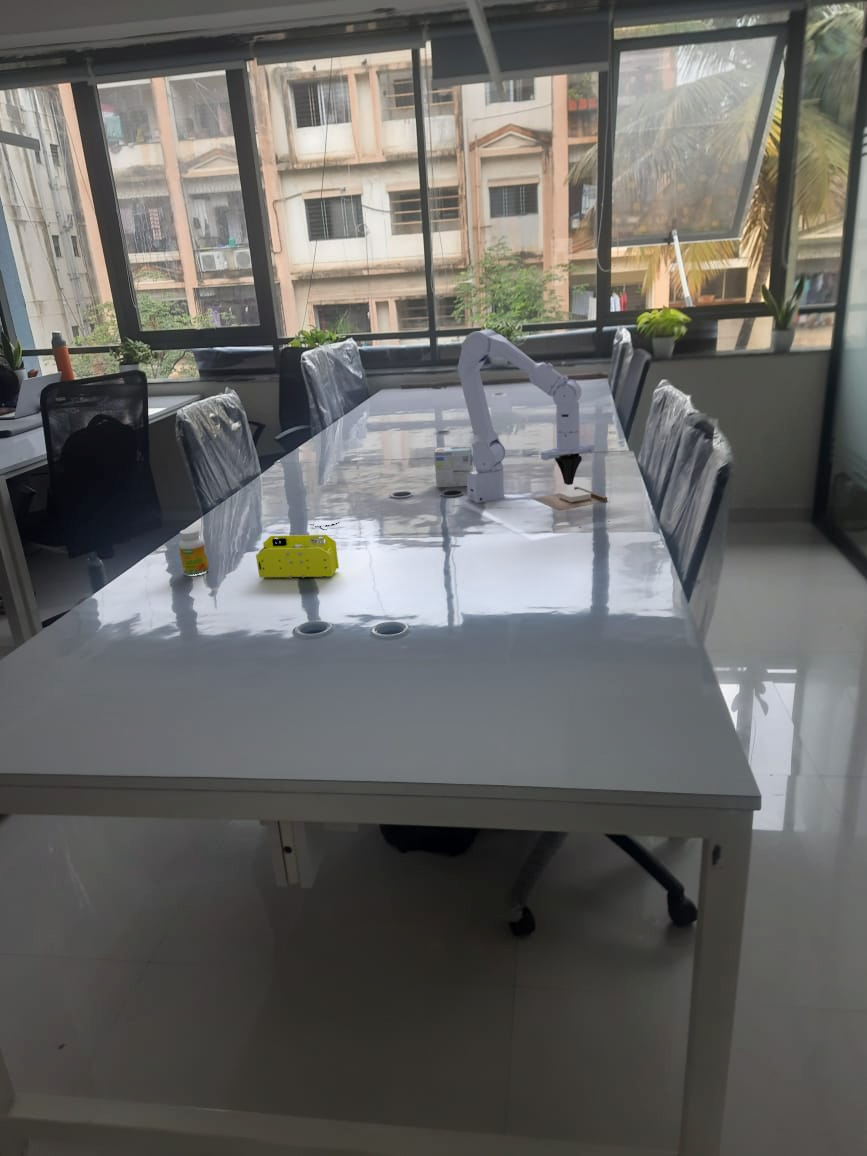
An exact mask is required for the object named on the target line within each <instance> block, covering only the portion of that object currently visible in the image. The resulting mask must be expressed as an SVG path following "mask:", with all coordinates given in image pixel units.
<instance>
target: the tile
mask: <svg viewBox="0 0 867 1156" xmlns="http://www.w3.org/2000/svg"><path fill="white" fill-rule="evenodd" d="M558 494H559V498H561V499H564V500H566V501H569V502H577V501H582V500H587V499H591V493H588V492H585V491H583V490H580V489H576V490H574V489H570V490H566V491H560V492H558Z"/></svg>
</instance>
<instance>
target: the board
mask: <svg viewBox="0 0 867 1156" xmlns="http://www.w3.org/2000/svg"><path fill="white" fill-rule="evenodd" d="M573 488H574V489H573V490H576V489H580V490H583V491H585V492H588V493H591V499H587V500H582V501H577V502H569V501H566V500H564V499H561V498H559V493H555V494H550V495H549V494H548V495H544V496H539V497H533V498H531V499H532V500H534V501H536V502H538V503H540V504H543V505H545V506H547V507H550V508H553V509H555V510H558V511H563V510H569V509H574V508H579V507H580V508H581V507H585V506H590V505H595V504H601V503H605V502H608V497H607V496H605V495H602V494H599V493H596V492H594V491H592V490H588V489H586V488H582V487H580V486H574V487H573Z"/></svg>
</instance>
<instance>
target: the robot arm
mask: <svg viewBox="0 0 867 1156" xmlns="http://www.w3.org/2000/svg"><path fill="white" fill-rule="evenodd" d="M488 358H502V359H504V360H506V361H508V363H511V364H512V365H514V366H516V367H517V368H518V369H519V370H521V371H523V372H524V373H526V374H527V375H528V376H529V377H528V378H529V381H530V383H532V385H534V386H535V387H536V388H538V389H540V390H541V391H542V392H543V393H545V394H546V395H548V396H549V397H552V400H553V403H554V404H555V405H556V410H555V411H556V412H555V418H556V420H555V423H556V424H555V425H556V427H555V428H556V429H555V430H556V431H555V433H556V447H554V448H552V449H548V450H543V451H541V452H540V453H541V454H540V456H541V457H540V459H541V460H543V461H549V460H552V459H554V461H555V462H556V464H557V466H558V468H559V470H560V472H561V476H562V478H563V484H564V485H567V486H569V485H574V480H575V476H576V473H577V470H578V467H579V465H580V464H581V463H582V460H583V457H582V456H581V455H583V454H589V453H591V454H593V453H595V452H596V449H595V448H596V446H595V444H592V443H589V444H588V443H587V444H580V402H579V400H580V399H581V396H582V387H581V386H580V385H579V384H578V383H577V381H576V380H574V379H569V376H568V375H563V374H561V373H560V372H558V371H557V370H556V369H554V368H553V367H554V365H553V364H551V363H550V362H548V363H546V362H545V361H543V362H536V361H535V360H533V359H532V358H531V357H529V356H528V355H527V354H525V352H523V351H522V350H521V349H519V348H518V347H517V346H516V345H514V344H513V343H512V342H511V341H509V339H507V338H505V336H503V335H502V334H499V333H497V332H496V331H495V330H493V329H491V328H485V329H482V330H479V331H473V332H470V333H469V334H468V335H467V336H465V339H464V340H463V342H462V343H461V352H460V355H459V360H458V364H457V371H458V376H459V380H460V384H461V388H462V392H463V396H464V400H465V404H466V408H467V411H468V412H467V413H468V417H469V421H470V424H471V428H472V432H473V439H472V445H471V448H472V465H473V466H474V467H475V469H474V470H473V472H470V473H468V475H467V486H466V488H467V489H466V491H467V499H468V500H470V501H472V502H474V503H476V504H478V503H484V502H485V503H486V502H490V501H491V502H492V501H499V500H502V499H504V498H505V484H504V483H505V481H504V480H505V479H504V478H505V477H504V465H503V463H502V462H503V460H504V459H505V457H506V448H505V446H504V445H503V444H502V442H501V441H500V438H499V435H498V433H497V432H496V431H495V430H494V428H493V427H494V426H493V422H492V418H491V414H490V411H489V410H490V409H489V405H488V402H487V398H486V393H485V388H484V385H483V380H482V376H481V373H480V370H481V369H482V366H483V365H484V363H485V362H486V361H487V359H488Z"/></svg>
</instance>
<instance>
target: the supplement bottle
mask: <svg viewBox="0 0 867 1156" xmlns="http://www.w3.org/2000/svg"><path fill="white" fill-rule="evenodd" d="M179 535H180V536H179V537H180V539H181V541H179V544H178V550H179V553H180V560H181V564H182V569H183V570H182V571H183V574H184V573H185V574H187V575H193V574H194V575H195V574H199V573H202V572H205V571H207V570H208V569H209V570H210V566H209V561H208V556H207V550H206V545H205V540H204V539H203V538H202V537H200V536H201V534H200V530H199V529H198V528H196V527H191V528H185V529H181V530H180V531H179ZM185 574H184V575H185Z"/></svg>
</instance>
